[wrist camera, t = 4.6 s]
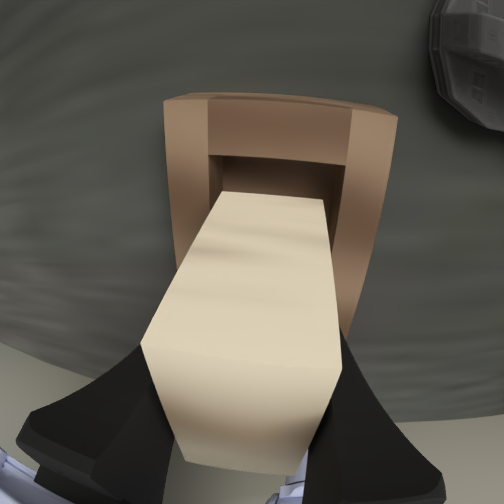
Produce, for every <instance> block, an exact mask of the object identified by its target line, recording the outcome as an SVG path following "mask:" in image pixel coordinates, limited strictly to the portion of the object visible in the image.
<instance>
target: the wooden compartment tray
mask: <svg viewBox="0 0 504 504" xmlns="http://www.w3.org/2000/svg"><path fill="white" fill-rule="evenodd" d="M397 120H398V117H397V116H395V115H393V114H391V113H389V112H387V111H385V110H383V109H382V108H380V107H378V106H374V105H368V104H362V103H355V102H348V101H341V100H333V99H325V98H316V97H306V96H294V95H281V94H263V93H228V92H211V93H189V94H186V95H182V96H178V97H175V98H171V99H168V100H165V101H164V125H165V144H166V160H167V175H168V187H169V199H170V210H171V220H172V230H173V239H174V248H175V256H176V265H177V271H178V269H179V267H180V265H181V264H182V262H183V260H184V258H185V256H186V254H187V253H188V251H189V249H190V247H191V245H192V243H193V242H194V240H195V238H196V236H197V234H198V233H199V231H200V229H201V227H202V226H203V224H204V222H205V220H206V218H207V217H208V215H209V213H210V211H211V210H212V208H213V206H214V204H215V203H216V201H217V199H218V198H219V196H220V194H221V192H222V191H225V192H240V193H254V194H266V195H278V196H290V197H300V198H311V199H320V200H323V204H324V210H325V217H326V223H327V230H328V237H329V244H330V252H331V259H332V267H333V276H334V284H335V293H336V302H337V312H338V323H339V325H340V328H341V330H342V333H343V335H344V338H345V340H346V338H347V335H348V332H349V329H350V326H351V323H352V320H353V317H354V313H355V310H356V307H357V304H358V300H359V297H360V293H361V290H362V286H363V283H364V279H365V276H366V272H367V268H368V265H369V261H370V257H371V253H372V249H373V245H374V241H375V237H376V233H377V228H378V224H379V220H380V215H381V211H382V206H383V201H384V196H385V192H386V186H387V181H388V176H389V171H390V165H391V159H392V153H393V147H394V141H395V134H396V127H397Z"/></svg>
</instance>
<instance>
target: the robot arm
mask: <svg viewBox="0 0 504 504" xmlns="http://www.w3.org/2000/svg"><path fill="white" fill-rule="evenodd" d="M339 334H340V346H341V359H342V371H341V373H340V376H339V378H338V381H337V383H336V386H335V388H334V391H333V393H332V396H331V398H330V400H329V403H328V405H327V408H326V410H325V412H324V414H323V417H322V419H321V421H320V424H319V426H318V428H317V430H316V432H315V434H314V437H313V439H312V441H311V443H310V445H309V447H308V449H307V451H306V453H305V455H304V457H303V460H302V462H301V464H300V466H299V467H298V469H297V471H296V473H295V475H294V476H286V482H285V485H281V486H280V491H279V493H275V494H273V495H272V496H271V497H270V498H269V499H268V500H267V501H266V503H265V504H443V503H444V502H445V501H446V490H445V484H444V480H443V476H442V473H441V472H440V471H439V470H438V469H437V468H436V467H435V466H433V465H432V464H431V463H430V462H429V461H428V460H427V459H426V458H425V457H424V456H423V455H422V454H421V453H420V452H419V451H418V450H417V449H416V448H415V447H414V446H413V445H412V444H411V443H410V441H409V440H408V439H407V438H406V437H405V436H404V434H403V433H402V432H401V431H400V429H399V428H398V427H397V426H396V425H395V423H394V422H393V421H392V420H391V418H390V417H389V416H388V414H387V413H386V411H385V410H384V409H383V407H382V406H381V404H380V403H379V401H378V400H377V398H376V397H375V395H374V394H373V392H372V390H371V389H370V387H369V385H368V384H367V382H366V380H365V378H364V377H363V375H362V373H361V371H360V369H359V367H358V365H357V363H356V361H355V359H354V357H353V355H352V353H351V351H350V349H349V347H348V344H347V342H346V340H345V338H344V335H343V333H342V330H341V328H340V325H339ZM174 438H175V436H174V433H173V431H172V428H171V426H170V424H169V421H168V419H167V416H166V414H165V411H164V409H163V406H162V404H161V401H160V398H159V396H158V393H157V390H156V388H155V385H154V382H153V379H152V376H151V374H150V371H149V368H148V365H147V362H146V359H145V356H144V353H143V350H142V347H141V344H140V345H139V346H138V347H137V348H136V349H135V350H134V351H132V352H131V353H130V354H129V355H128V356H127V357H126V358H124V359H123V360H122V361H121V362H119V363H118V364H117V365H116V366H114V367H113V368H112V369H110V370H109V371H108V372H106V373H105V374H103V375H102V376H100V377H99V378H97V379H96V380H94V381H93V382H91V383H90V384H88V385H87V386H85V387H83V388H81V389H80V390H78V391H76V392H74V393H72V394H71V395H69V396H67V397H65V398H63V399H61V400H59V401H57V402H54V403H52V404H50V405H47V406H45V407H42V408H40V409H37V410H35V411H32V412H31V413H30V414H29V416H28V417H27V419H26V421H25V423H24V425H23V427H22V429H21V431H20V433H19V434H18V436H17V438H16V444H17V445H18V446H19V448H21V449H22V450H23V451H24V452H25V453H26V454H27V455H29V456H30V457H31V458H32V459H34V460H35V461H36V462H38V463H39V464H40V467H39V469H38V472H36V471H34V470H32V469H31V468H29V467H27V466H26V465H24V464H22V463H21V462H19V461H17V460H16V459H14V458H13V457H11V456H10V455H8V454H7V453H6V452H5V451H4V450H3V449H2V448H0V504H162V501H163V494H164V488H165V482H166V476H167V471H168V466H169V461H170V456H171V451H172V447H173V442H174Z"/></svg>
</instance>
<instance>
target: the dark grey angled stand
mask: <svg viewBox="0 0 504 504" xmlns="http://www.w3.org/2000/svg"><path fill="white" fill-rule="evenodd" d="M428 52H429V56H430V60H431V65H432V69H433V74H434V79H435V84H436V90H437V93H438V94H439V96H441V97H442V98H443V99H444V100H446V101H447V102H448V103H449V104H451V105H452V106H453V107H454V108H455V109H457V110H458V111H459V112H460V113H461V114H462V115H464V116H465V117H466V118H467V119H468V120H469V121H471V122H474V123H476V124H478V125H481V126H483V127H485V128H488V129H492V130H498V131H503V132H504V0H437V1H436V3H435V6H434V8H433V10H432V13H431V15H430V25H429V45H428Z"/></svg>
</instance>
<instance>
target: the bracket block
mask: <svg viewBox="0 0 504 504" xmlns="http://www.w3.org/2000/svg"><path fill="white" fill-rule="evenodd" d="M140 344H141V347H142V350H143V353H144V356H145V359H146V362H147V365H148V368H149V371H150V374H151V376H152V379H153V382H154V385H155V388H156V390H157V393H158V396H159V398H160V401H161V404H162V406H163V409H164V411H165V414H166V416H167V419H168V421H169V424H170V426H171V428H172V431H173V433H174V436H175V438H176V440H177V442H178V445H179V447H180V449H181V452H182V454H183V456H184V458H185V460H186V461H187V462H193V463H197V464H202V465H207V466H213V467H219V468H224V469H232V470H238V471H245V472H253V473H262V474H272V475H285V476H294V475H295V473H296V471H297V469H298V467H299V466H300V464H301V462H302V460H303V457H304V455H305V453H306V451H307V449H308V447H309V445H310V443H311V441H312V439H313V437H314V434H315V432H316V430H317V428H318V426H319V424H320V421H321V419H322V417H323V414H324V412H325V410H326V408H327V405H328V403H329V400H330V398H331V396H332V393H333V391H334V388H335V386H336V383H337V381H338V378H339V376H340V373H341V371H342V359H341V346H340V334H339V323H338V312H337V302H336V293H335V284H334V276H333V267H332V259H331V252H330V244H329V237H328V230H327V223H326V217H325V210H324V204H323V200H320V199H311V198H300V197H290V196H278V195H266V194H254V193H240V192H225V191H222V192H221V194H220V196H219V198H218V199H217V201H216V203H215V204H214V206H213V208H212V210H211V211H210V213H209V215H208V217H207V218H206V220H205V222H204V224H203V226H202V227H201V229H200V231H199V233H198V234H197V236H196V238H195V240H194V242H193V243H192V245H191V247H190V249H189V251H188V253H187V254H186V256H185V258H184V260H183V262H182V264H181V265H180V267H179V269H178V271H177V273H176V275H175V277H174V279H173V280H172V282H171V284H170V286H169V288H168V290H167V292H166V294H165V296H164V298H163V300H162V301H161V303H160V305H159V307H158V309H157V311H156V313H155V315H154V317H153V319H152V321H151V323H150V325H149V327H148V329H147V331H146V333H145V335H144V337H143V339H142V341H141V343H140Z"/></svg>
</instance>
